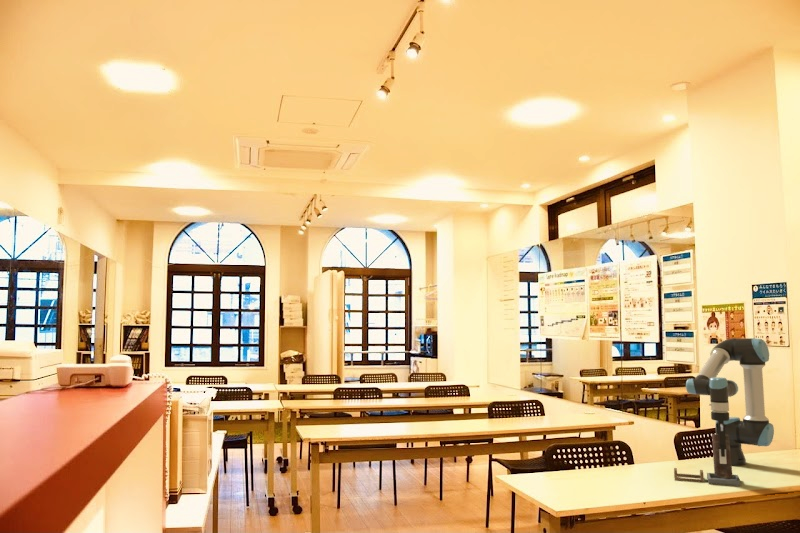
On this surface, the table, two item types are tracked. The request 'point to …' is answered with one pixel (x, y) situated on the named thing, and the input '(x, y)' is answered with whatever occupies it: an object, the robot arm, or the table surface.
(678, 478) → the cradle
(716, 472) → the dark brown tall block
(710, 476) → the tray
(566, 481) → the table surface
